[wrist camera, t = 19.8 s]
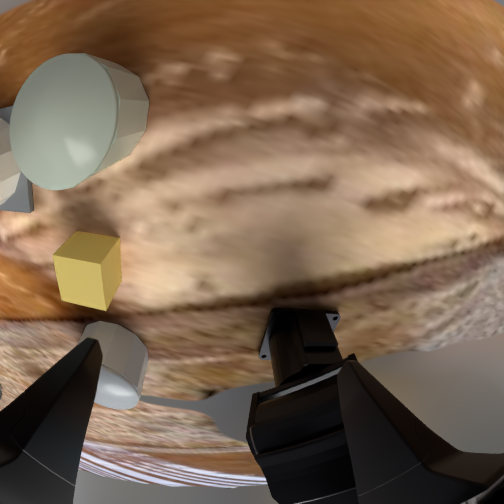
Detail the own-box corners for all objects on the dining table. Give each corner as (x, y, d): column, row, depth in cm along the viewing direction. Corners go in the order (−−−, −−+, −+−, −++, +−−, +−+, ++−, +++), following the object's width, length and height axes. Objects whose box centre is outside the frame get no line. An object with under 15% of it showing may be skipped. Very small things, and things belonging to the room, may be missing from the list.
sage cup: (142, 169, 17) (110, 193, 12) (56, 166, 16) (11, 188, 11) (156, 62, 13) (126, 45, 9) (63, 70, 12) (16, 66, 8)
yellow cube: (122, 280, 21) (106, 310, 17) (81, 272, 20) (62, 300, 17) (120, 236, 19) (100, 264, 16) (77, 230, 19) (52, 254, 15)
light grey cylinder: (150, 374, 27) (142, 415, 22) (91, 361, 26) (78, 398, 21) (144, 329, 24) (131, 375, 19) (76, 315, 22) (55, 355, 18)
